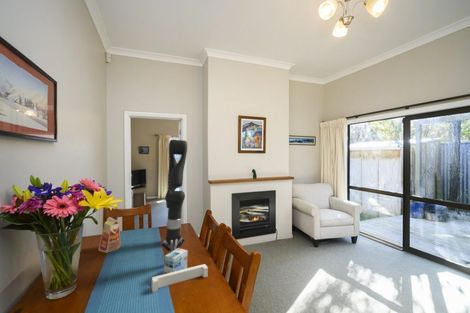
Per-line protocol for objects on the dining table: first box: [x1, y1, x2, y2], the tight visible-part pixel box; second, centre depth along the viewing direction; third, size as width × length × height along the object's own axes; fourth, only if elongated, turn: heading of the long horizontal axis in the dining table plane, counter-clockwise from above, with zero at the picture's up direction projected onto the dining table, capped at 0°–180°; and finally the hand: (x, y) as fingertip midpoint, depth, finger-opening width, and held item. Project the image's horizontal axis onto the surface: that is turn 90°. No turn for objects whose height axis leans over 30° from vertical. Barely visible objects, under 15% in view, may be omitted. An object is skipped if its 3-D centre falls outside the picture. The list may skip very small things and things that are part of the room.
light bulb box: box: [163, 247, 189, 274], centre depth 102 cm, size 11×7×11 cm, turn 156°
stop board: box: [151, 263, 209, 293], centre depth 95 cm, size 4×26×4 cm, turn 121°
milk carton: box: [98, 216, 121, 254], centre depth 127 cm, size 9×9×20 cm
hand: (172, 257), depth 111 cm, fingers closed
